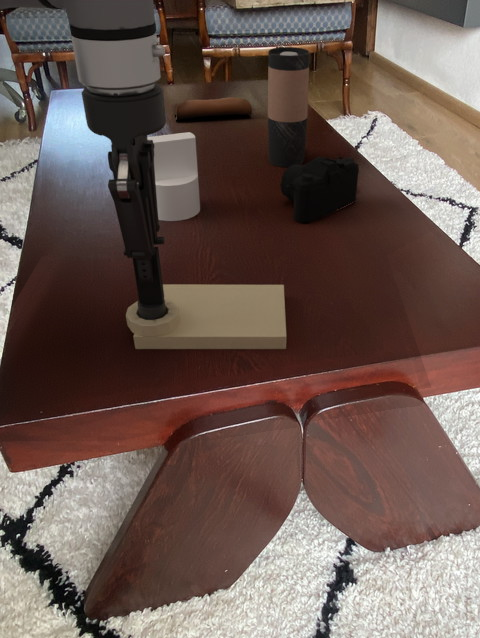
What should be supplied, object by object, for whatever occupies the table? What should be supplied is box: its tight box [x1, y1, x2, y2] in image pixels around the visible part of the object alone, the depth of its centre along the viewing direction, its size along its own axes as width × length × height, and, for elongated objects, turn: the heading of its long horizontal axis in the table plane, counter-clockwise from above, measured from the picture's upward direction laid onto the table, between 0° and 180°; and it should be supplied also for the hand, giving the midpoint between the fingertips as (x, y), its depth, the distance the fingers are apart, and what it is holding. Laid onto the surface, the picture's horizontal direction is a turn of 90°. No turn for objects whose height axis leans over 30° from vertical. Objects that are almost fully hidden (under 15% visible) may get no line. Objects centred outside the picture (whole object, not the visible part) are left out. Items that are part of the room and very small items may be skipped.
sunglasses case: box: [175, 96, 253, 121], centre depth 145 cm, size 18×7×7 cm, turn 105°
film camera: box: [279, 155, 360, 224], centre depth 103 cm, size 15×10×9 cm, turn 135°
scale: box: [125, 283, 287, 350], centre depth 76 cm, size 19×12×4 cm, turn 91°
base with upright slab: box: [147, 131, 201, 222], centre depth 100 cm, size 9×9×12 cm
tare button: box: [137, 299, 166, 320], centre depth 72 cm, size 3×3×2 cm
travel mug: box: [267, 46, 310, 168], centre depth 117 cm, size 8×8×20 cm
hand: (152, 299), depth 72 cm, fingers closed
